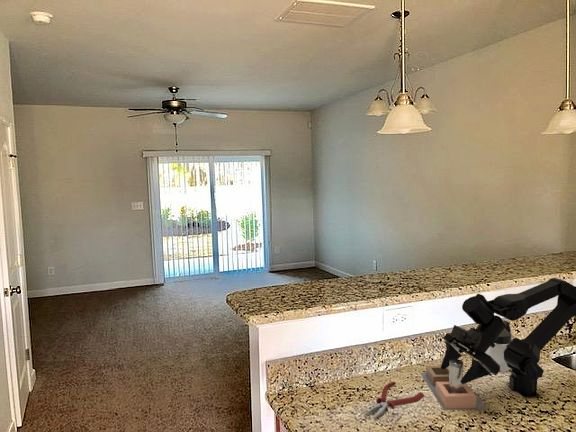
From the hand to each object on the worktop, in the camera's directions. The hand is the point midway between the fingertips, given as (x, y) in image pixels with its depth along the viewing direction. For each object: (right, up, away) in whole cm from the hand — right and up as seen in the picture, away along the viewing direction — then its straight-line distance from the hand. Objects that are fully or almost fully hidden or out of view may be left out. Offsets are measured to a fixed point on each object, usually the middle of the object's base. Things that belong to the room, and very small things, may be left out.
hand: (451, 375), depth 124 cm
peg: (+2, -7, +1) cm, 8 cm away
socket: (+1, -7, +1) cm, 8 cm away
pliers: (-17, -9, +3) cm, 20 cm away
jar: (+24, -6, +24) cm, 35 cm away
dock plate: (+3, -8, +7) cm, 11 cm away
